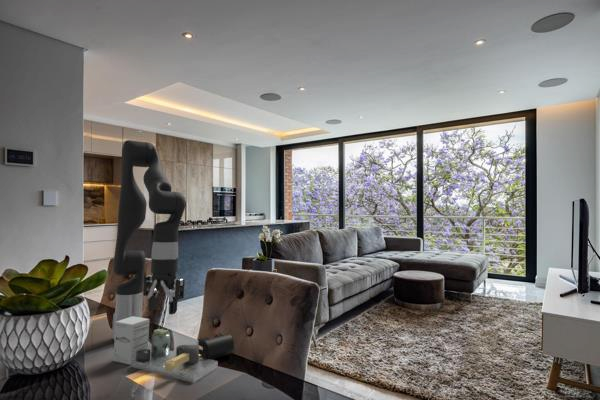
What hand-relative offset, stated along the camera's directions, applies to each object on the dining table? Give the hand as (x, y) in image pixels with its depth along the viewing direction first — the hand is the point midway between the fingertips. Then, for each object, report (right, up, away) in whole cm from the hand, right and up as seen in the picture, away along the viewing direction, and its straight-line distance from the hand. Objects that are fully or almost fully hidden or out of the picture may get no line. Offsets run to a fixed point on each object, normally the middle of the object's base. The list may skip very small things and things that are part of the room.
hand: (162, 312), depth 101 cm
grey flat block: (+2, -18, +3) cm, 19 cm away
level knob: (+6, -16, -1) cm, 17 cm away
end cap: (+13, -19, +12) cm, 26 cm away
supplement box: (-14, -18, +9) cm, 25 cm away
